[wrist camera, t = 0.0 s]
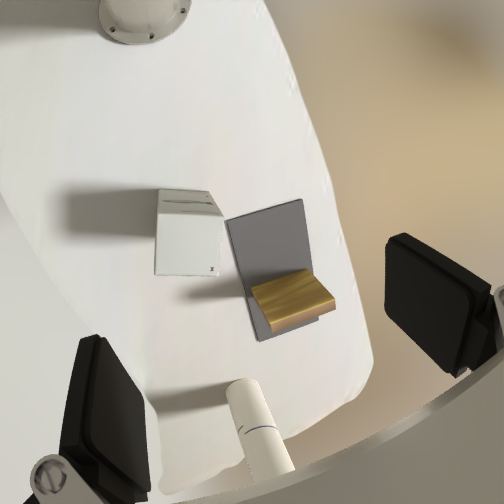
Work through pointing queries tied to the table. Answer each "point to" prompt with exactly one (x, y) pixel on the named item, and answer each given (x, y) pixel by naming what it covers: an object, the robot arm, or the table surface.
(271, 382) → the table surface
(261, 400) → the cylindrical container
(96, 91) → the table surface
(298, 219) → the mat
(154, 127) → the table surface
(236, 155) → the table surface
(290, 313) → the tile
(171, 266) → the supplement box
